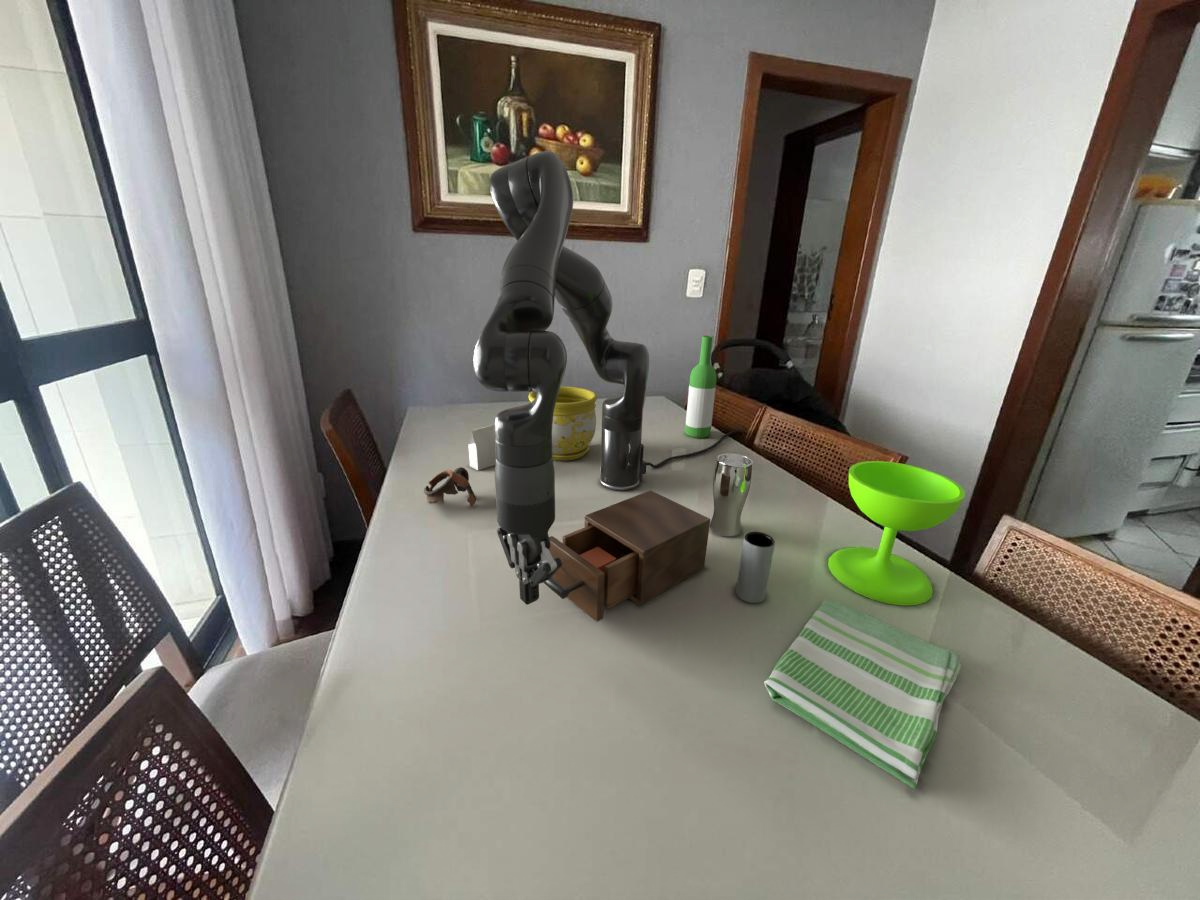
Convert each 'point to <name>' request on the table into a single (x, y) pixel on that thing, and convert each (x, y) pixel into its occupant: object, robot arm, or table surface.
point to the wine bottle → (701, 394)
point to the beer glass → (730, 493)
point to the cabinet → (656, 540)
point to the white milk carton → (482, 448)
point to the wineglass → (894, 528)
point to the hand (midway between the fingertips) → (529, 599)
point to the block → (598, 558)
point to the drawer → (593, 571)
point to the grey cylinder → (755, 566)
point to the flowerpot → (572, 422)
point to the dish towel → (867, 686)
